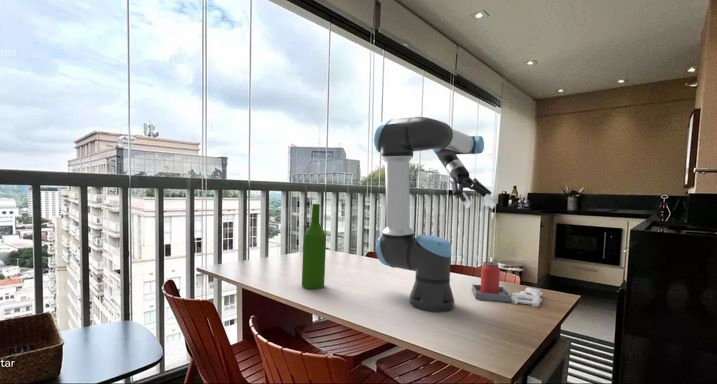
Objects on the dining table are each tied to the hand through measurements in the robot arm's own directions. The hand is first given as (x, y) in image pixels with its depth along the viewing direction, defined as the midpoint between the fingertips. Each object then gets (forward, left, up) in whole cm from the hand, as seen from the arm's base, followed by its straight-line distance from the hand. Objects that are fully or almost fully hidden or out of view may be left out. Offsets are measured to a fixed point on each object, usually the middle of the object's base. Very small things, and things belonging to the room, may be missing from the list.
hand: (482, 206), depth 142 cm
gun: (+16, -11, -34) cm, 39 cm away
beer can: (+2, -11, -33) cm, 35 cm away
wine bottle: (-65, -20, -34) cm, 76 cm away
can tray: (+3, -11, -34) cm, 36 cm away
